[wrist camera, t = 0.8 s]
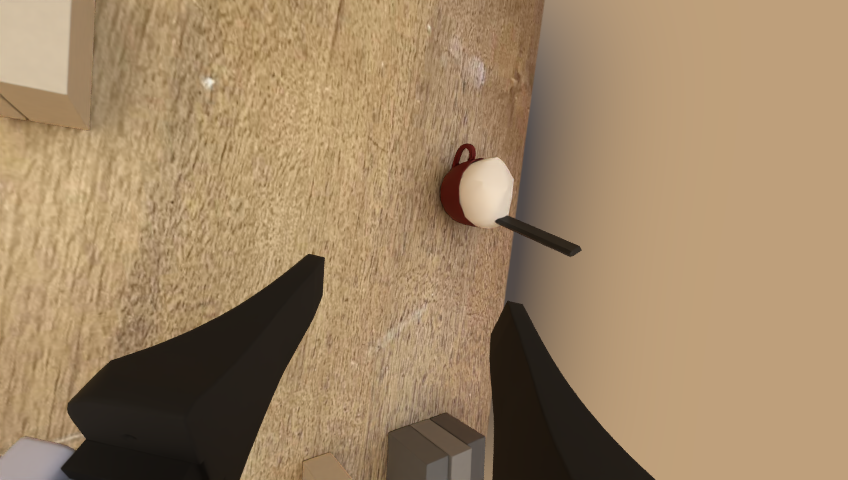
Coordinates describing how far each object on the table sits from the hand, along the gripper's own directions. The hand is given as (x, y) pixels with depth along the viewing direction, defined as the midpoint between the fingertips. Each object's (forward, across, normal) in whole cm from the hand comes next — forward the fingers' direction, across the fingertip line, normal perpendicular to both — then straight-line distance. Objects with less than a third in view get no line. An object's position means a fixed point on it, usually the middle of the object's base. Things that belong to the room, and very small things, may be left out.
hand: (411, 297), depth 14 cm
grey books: (+5, -5, +26) cm, 27 cm away
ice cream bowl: (+22, -2, +7) cm, 23 cm away
